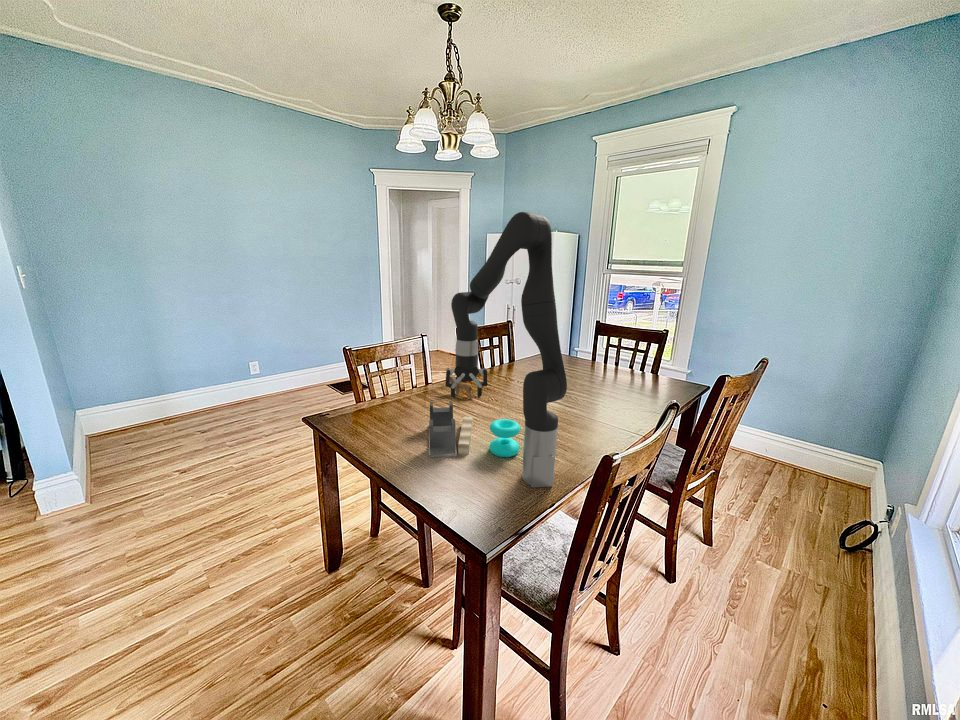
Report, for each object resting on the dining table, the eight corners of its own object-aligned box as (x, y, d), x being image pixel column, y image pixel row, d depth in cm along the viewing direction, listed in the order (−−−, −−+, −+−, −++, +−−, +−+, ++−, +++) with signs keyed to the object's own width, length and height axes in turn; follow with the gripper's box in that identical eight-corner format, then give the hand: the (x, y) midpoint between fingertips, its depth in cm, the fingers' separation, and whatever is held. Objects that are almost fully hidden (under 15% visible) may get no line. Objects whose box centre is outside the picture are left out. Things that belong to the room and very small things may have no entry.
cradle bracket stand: (456, 456, 124) (456, 426, 121) (428, 457, 123) (428, 427, 120) (453, 424, 147) (452, 399, 144) (429, 425, 146) (428, 399, 143)
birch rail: (468, 455, 126) (469, 444, 125) (458, 455, 126) (458, 444, 125) (472, 426, 147) (472, 416, 146) (463, 426, 147) (463, 416, 146)
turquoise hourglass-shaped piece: (513, 416, 131) (525, 428, 122) (512, 442, 134) (523, 456, 125) (486, 419, 129) (495, 432, 119) (485, 446, 131) (494, 460, 122)
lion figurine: (446, 395, 178) (446, 376, 175) (451, 391, 182) (451, 373, 180) (474, 400, 172) (475, 381, 170) (479, 396, 177) (479, 378, 174)
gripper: (445, 355, 123) (446, 402, 128) (489, 355, 125) (488, 401, 129) (445, 349, 130) (445, 394, 135) (486, 349, 132) (485, 393, 137)
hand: (466, 397), depth 132 cm, fingers open, 8 cm apart
